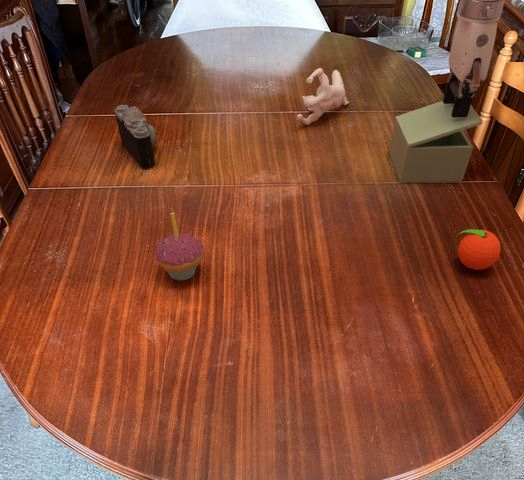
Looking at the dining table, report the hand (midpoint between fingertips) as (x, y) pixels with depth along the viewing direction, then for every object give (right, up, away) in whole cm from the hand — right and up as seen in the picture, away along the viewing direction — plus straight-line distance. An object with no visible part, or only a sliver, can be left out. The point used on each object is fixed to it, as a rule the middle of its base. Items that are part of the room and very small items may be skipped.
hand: (454, 108), depth 104 cm
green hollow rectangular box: (-3, -8, +10) cm, 13 cm away
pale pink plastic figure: (-24, +10, +26) cm, 37 cm away
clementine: (-2, -34, -12) cm, 37 cm away
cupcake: (-54, -36, -13) cm, 66 cm away
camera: (-67, -4, +15) cm, 69 cm away
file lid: (-3, -2, +2) cm, 4 cm away
